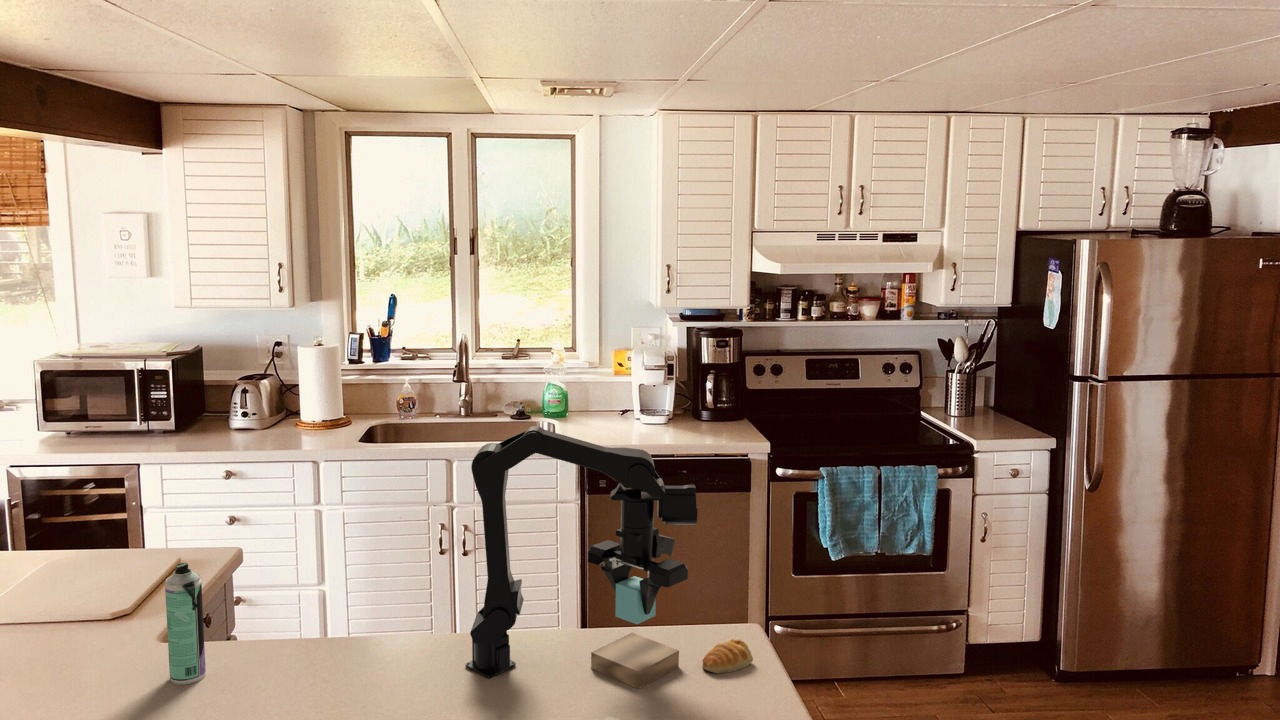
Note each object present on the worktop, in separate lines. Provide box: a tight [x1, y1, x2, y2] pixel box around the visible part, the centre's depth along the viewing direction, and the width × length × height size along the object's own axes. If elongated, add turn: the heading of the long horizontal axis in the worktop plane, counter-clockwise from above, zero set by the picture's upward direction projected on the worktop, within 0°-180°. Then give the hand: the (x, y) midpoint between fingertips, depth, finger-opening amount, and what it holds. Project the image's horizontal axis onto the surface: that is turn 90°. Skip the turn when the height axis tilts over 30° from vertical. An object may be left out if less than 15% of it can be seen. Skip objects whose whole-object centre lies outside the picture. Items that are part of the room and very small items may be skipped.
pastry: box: [702, 638, 754, 674], centre depth 165 cm, size 9×7×4 cm
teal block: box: [615, 575, 657, 625], centre depth 161 cm, size 5×5×6 cm
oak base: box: [590, 632, 680, 690], centre depth 163 cm, size 11×11×3 cm
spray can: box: [164, 562, 207, 686], centre depth 156 cm, size 6×6×20 cm
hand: (635, 609), depth 162 cm, fingers closed on teal block, 5 cm apart
